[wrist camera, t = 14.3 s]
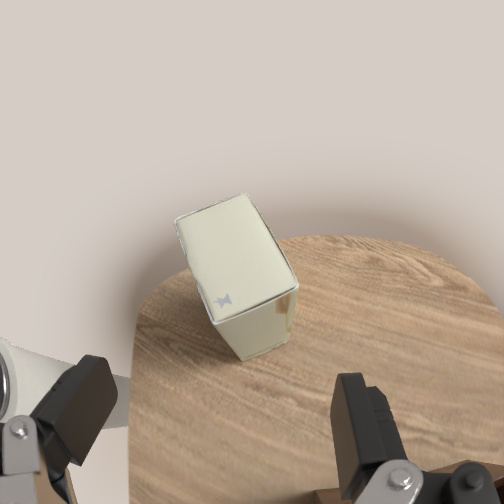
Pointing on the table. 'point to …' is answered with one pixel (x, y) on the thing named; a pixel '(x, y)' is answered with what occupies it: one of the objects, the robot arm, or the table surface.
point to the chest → (330, 499)
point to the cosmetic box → (240, 274)
